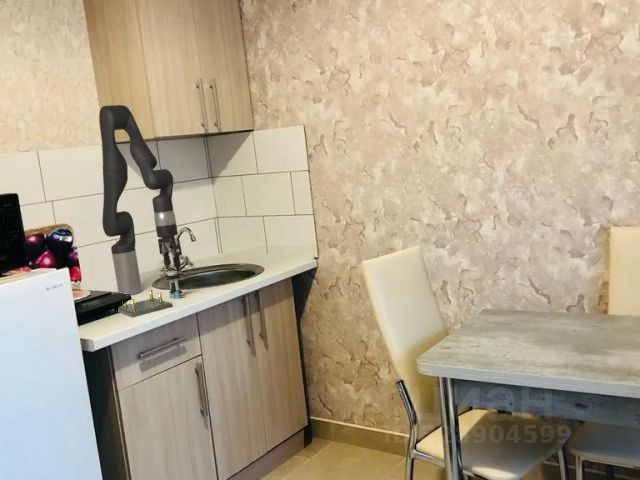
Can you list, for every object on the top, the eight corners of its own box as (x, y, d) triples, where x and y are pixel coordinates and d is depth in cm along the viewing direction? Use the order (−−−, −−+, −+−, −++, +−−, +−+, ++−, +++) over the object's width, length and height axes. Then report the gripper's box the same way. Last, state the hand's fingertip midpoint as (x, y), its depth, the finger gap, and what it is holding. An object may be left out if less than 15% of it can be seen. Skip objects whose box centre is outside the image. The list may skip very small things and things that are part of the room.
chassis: (115, 311, 235) (113, 297, 235) (154, 301, 244) (152, 287, 243) (132, 317, 223) (129, 302, 222) (172, 306, 232) (170, 292, 231)
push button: (188, 296, 246) (184, 270, 244) (178, 299, 241) (174, 273, 240) (176, 295, 250) (172, 270, 248) (165, 299, 245) (161, 273, 244)
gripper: (148, 225, 245) (155, 267, 247) (164, 225, 233) (171, 269, 236) (167, 221, 249) (173, 262, 251) (183, 222, 238) (190, 265, 240)
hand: (172, 266), depth 243 cm, fingers open, 8 cm apart
